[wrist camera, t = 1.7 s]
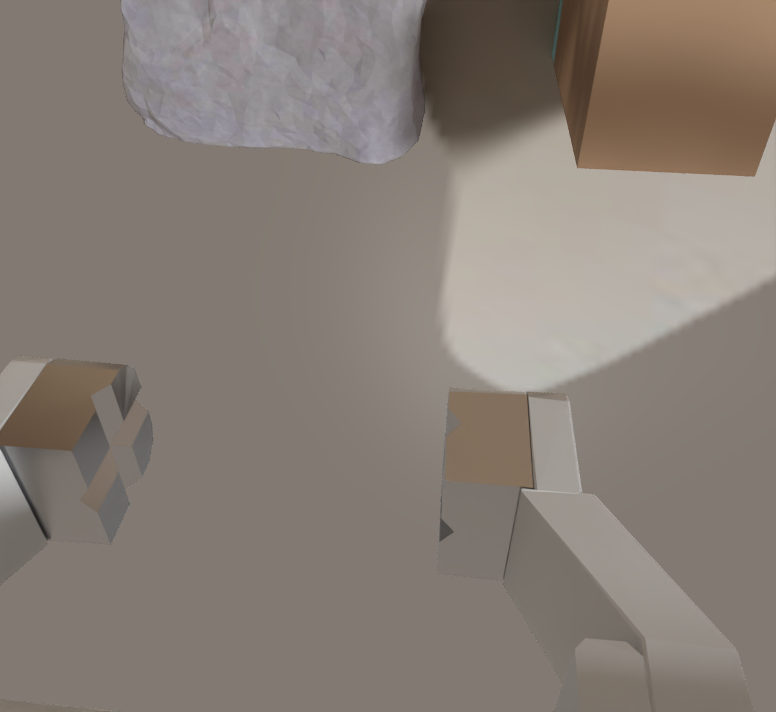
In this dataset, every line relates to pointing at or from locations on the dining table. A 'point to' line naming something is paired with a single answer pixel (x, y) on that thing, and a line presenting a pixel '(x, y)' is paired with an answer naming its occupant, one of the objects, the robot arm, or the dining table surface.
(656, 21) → the walnut block
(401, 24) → the stone block
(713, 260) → the dining table surface
